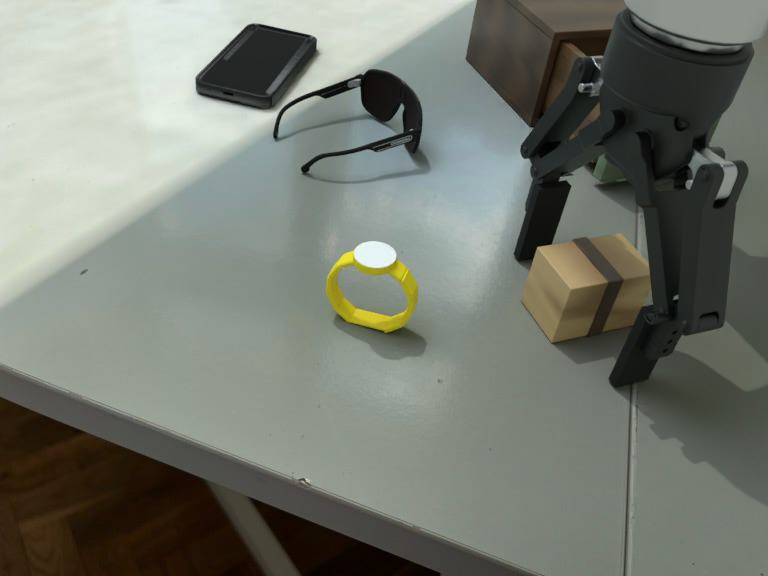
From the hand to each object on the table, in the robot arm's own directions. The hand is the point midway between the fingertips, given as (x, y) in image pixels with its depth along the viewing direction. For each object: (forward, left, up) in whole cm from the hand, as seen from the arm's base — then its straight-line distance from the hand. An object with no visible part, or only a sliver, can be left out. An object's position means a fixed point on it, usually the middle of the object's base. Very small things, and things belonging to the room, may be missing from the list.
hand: (575, 312), depth 56 cm
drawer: (-16, -18, +1) cm, 24 cm away
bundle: (0, 0, 0) cm, 0 cm away
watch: (+15, -3, 0) cm, 15 cm away
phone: (+13, -40, 0) cm, 42 cm away
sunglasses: (+9, -25, 0) cm, 27 cm away
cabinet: (-16, -32, 0) cm, 36 cm away
